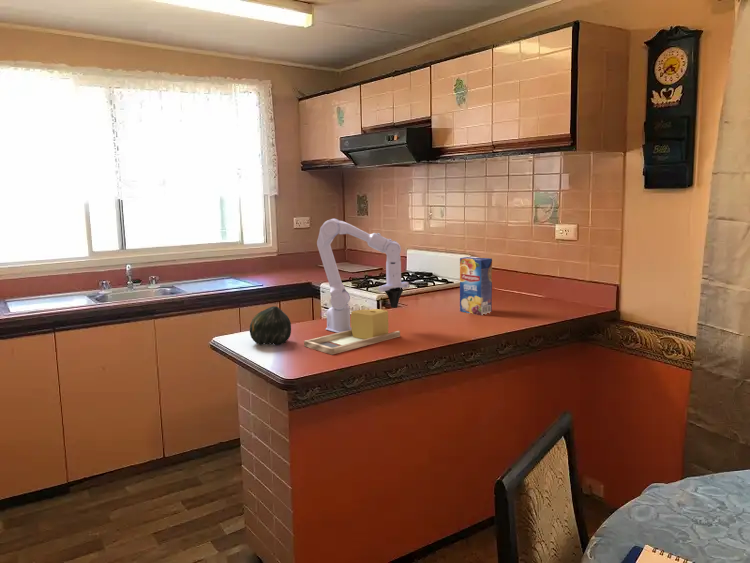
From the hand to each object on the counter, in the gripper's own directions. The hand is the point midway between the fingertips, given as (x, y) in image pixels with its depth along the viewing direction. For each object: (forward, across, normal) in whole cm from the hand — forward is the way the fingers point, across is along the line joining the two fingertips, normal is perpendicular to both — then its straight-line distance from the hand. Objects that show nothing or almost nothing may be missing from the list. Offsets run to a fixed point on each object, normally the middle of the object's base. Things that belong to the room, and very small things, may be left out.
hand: (394, 307), depth 237 cm
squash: (+10, -44, +20) cm, 49 cm away
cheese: (+10, -13, 0) cm, 16 cm away
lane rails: (+9, -21, 0) cm, 23 cm away
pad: (+9, -22, 0) cm, 24 cm away
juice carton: (+10, +48, -3) cm, 49 cm away
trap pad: (+9, -33, 0) cm, 34 cm away
